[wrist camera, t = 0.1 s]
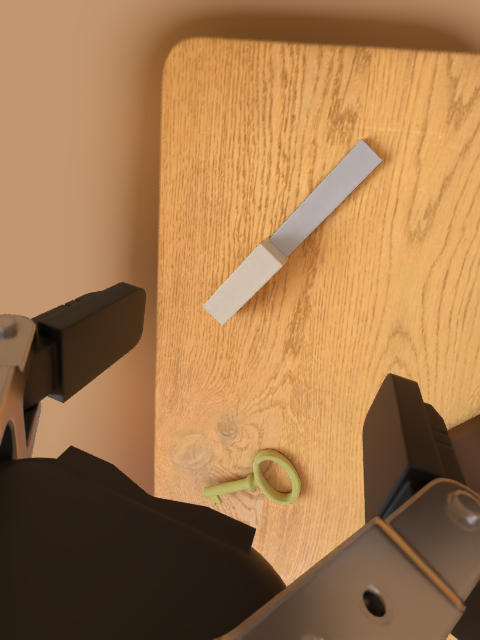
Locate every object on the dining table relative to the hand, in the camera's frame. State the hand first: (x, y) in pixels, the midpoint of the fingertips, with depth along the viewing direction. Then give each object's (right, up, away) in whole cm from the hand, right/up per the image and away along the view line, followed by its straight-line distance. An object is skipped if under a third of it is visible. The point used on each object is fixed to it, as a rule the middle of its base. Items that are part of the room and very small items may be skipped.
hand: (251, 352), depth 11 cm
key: (+1, -18, +31) cm, 35 cm away
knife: (+4, +8, +19) cm, 21 cm away
